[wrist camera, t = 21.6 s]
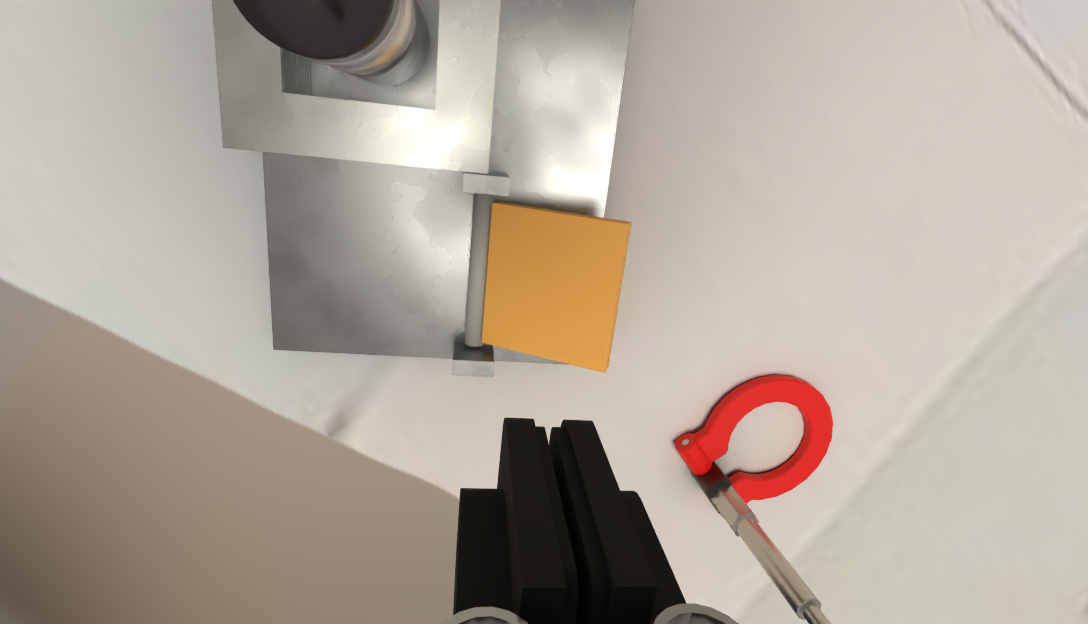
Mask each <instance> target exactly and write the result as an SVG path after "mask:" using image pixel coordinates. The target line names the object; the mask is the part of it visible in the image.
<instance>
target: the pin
mask: <svg viewBox="0 0 1088 624" xmlns="http://www.w3.org/2000/svg"><path fill="white" fill-rule="evenodd" d="M233 2H234V3H235V5H236V6H237V8H238V10H239V11H240V13H241V14H242V15H243V16H244V18H245V19H246V20H247V21H248V23H249V24H250V25H251V26H252V27H253V28H254V29H255V30H256V31H257V32H259V33H260V34H261V35H262V36H264V37H265V38H266V39H267V40H269V41H271V42H272V43H274V44H275V45H277V46H279V47H281V48H283V49H285V50H287V51H290V52H292V53H295V54H298V55H300V56H303V57H305V58H308V59H311V60H313V61H316V62H319V63H321V64H324V65H326V66H329V67H332V68H334V69H337V70H340V71H342V72H345V73H347V74H350V75H353V76H355V77H358V78H361V79H363V80H366V81H368V82H371V83H374V84H379V85H394V84H399V83H402V82H404V81H406V80H408V79H410V78H411V77H412V76H413V75H415V74H416V73H417V71H418V70H419V69H420V68H421V66H422V65H423V63H424V61H425V58H426V56H427V52H428V48H429V32H428V26H427V22H426V20H425V17H424V15H423V13H422V11H421V9H420V7H419V4H418V2H417V0H233Z"/></svg>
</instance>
